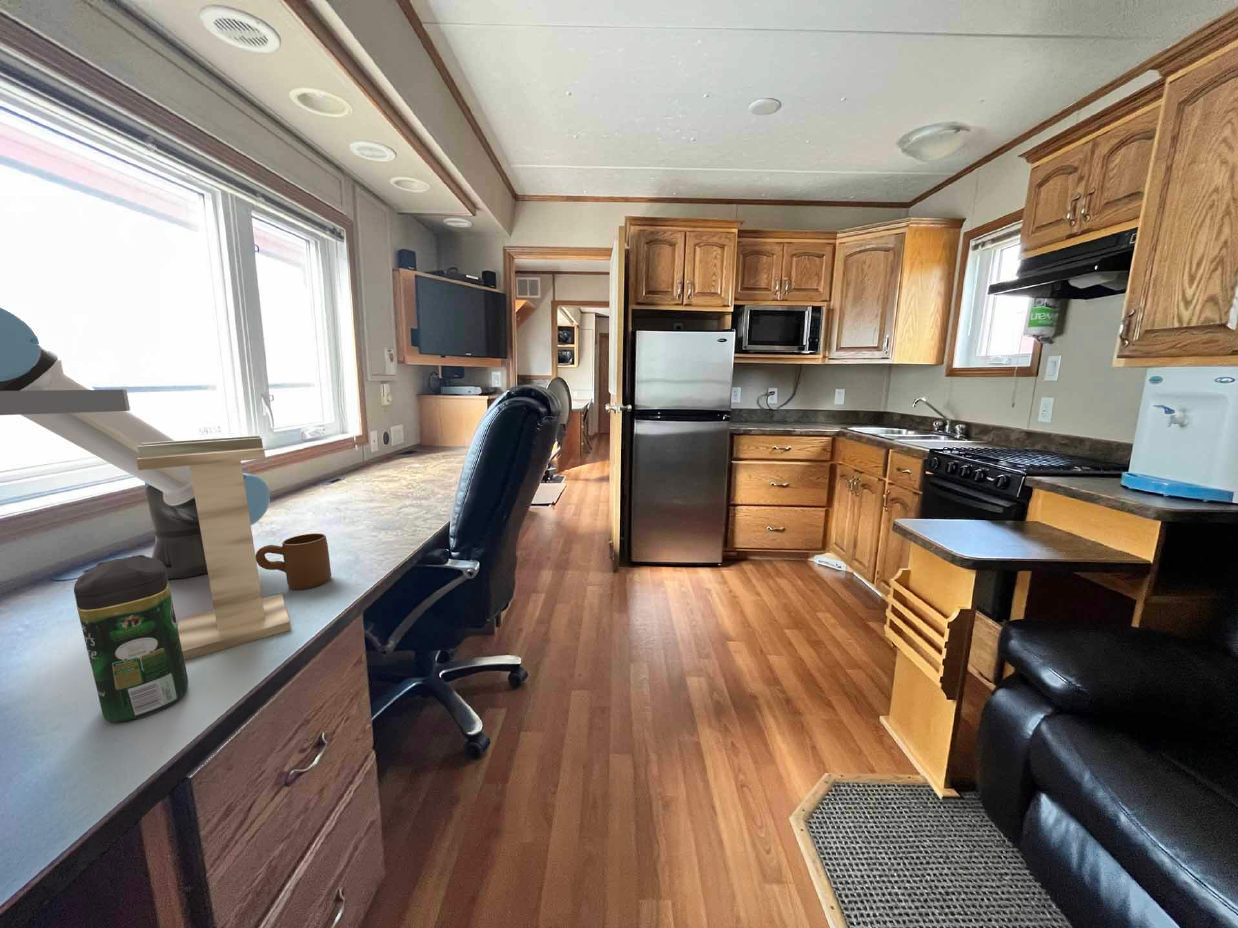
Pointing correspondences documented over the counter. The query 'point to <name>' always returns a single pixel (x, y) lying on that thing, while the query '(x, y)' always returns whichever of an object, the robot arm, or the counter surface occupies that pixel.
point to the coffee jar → (131, 637)
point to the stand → (222, 543)
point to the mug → (300, 560)
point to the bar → (62, 401)
